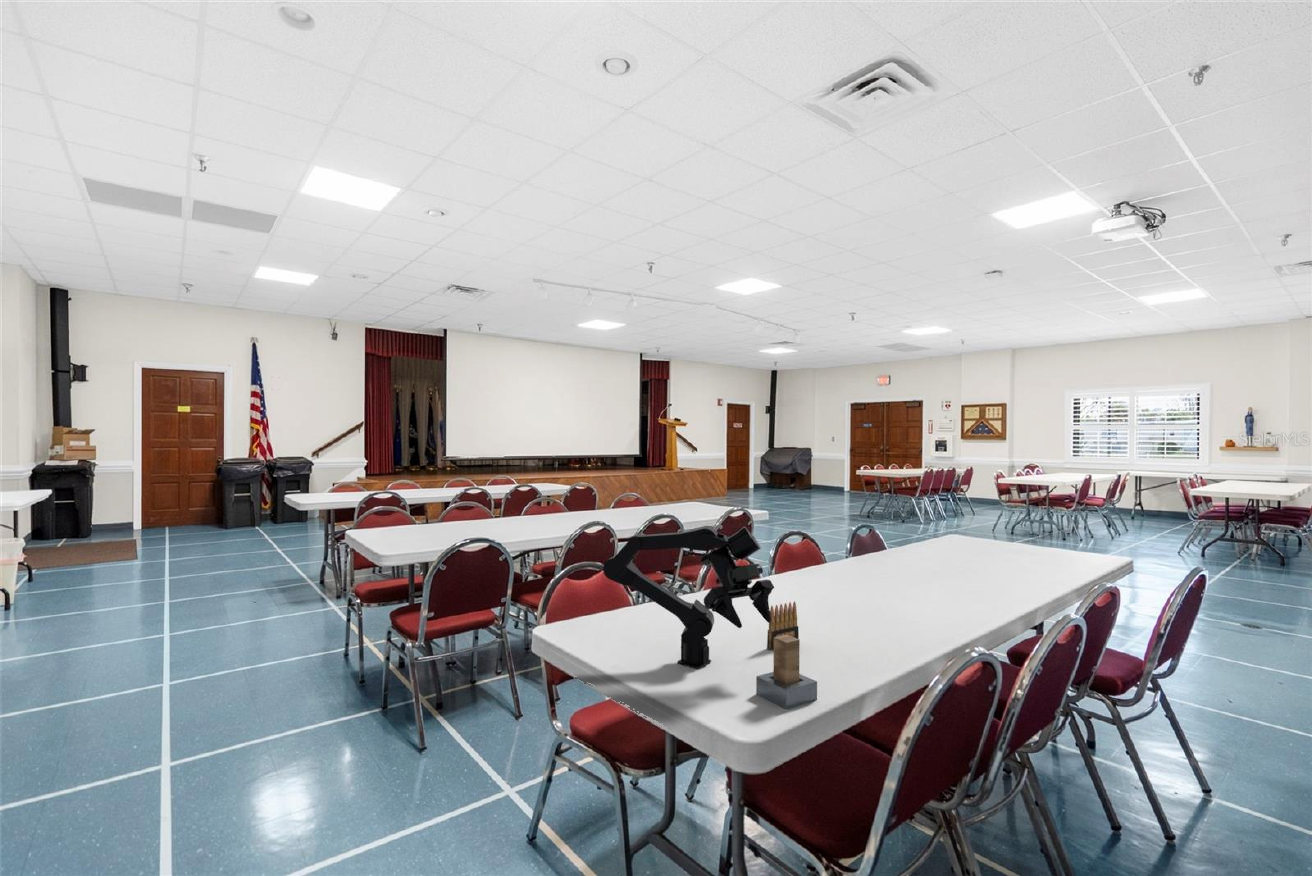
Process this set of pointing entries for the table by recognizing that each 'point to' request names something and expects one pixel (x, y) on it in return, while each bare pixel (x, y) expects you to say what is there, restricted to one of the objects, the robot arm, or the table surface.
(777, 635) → the ammunition clip
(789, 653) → the walnut peg
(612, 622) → the table surface
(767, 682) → the square collar
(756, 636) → the table surface
